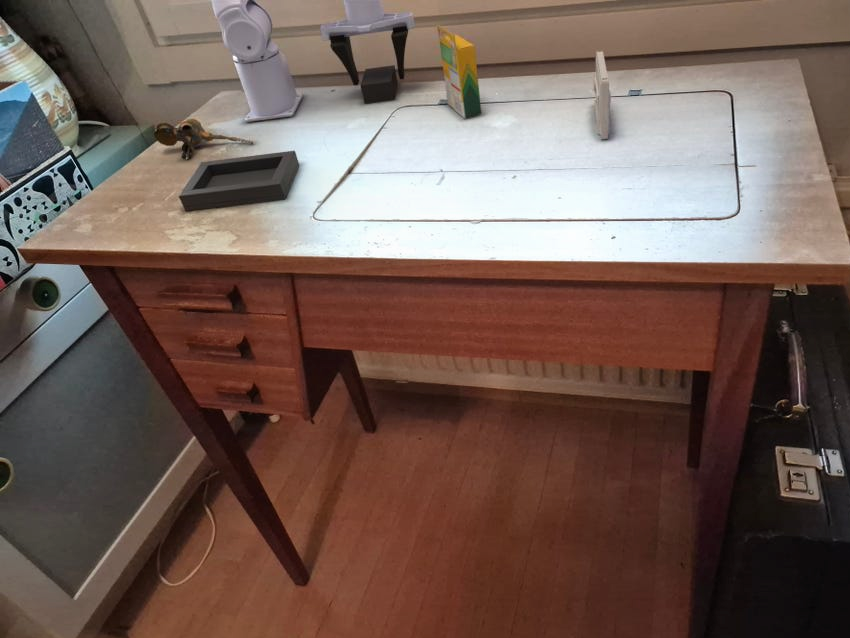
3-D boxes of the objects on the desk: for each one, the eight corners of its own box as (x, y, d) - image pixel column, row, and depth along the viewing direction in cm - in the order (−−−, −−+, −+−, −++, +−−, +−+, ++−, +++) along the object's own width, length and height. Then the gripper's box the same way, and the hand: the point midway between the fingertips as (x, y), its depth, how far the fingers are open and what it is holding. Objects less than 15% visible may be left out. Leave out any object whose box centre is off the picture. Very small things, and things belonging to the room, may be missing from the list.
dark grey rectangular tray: (207, 176, 93) (201, 161, 91) (299, 165, 92) (294, 150, 90) (185, 211, 85) (178, 195, 84) (285, 199, 84) (279, 183, 83)
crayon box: (483, 114, 98) (473, 30, 90) (464, 119, 97) (453, 35, 90) (465, 100, 103) (454, 19, 96) (447, 104, 102) (435, 24, 95)
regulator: (261, 138, 103) (168, 129, 103) (255, 118, 99) (157, 109, 100) (249, 173, 99) (151, 164, 100) (241, 154, 96) (140, 144, 96)
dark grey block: (369, 86, 113) (365, 68, 111) (398, 83, 113) (394, 65, 111) (364, 103, 107) (360, 85, 105) (394, 100, 107) (390, 81, 105)
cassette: (611, 139, 86) (612, 79, 81) (597, 140, 86) (597, 81, 81) (605, 105, 95) (606, 49, 90) (592, 106, 95) (592, 50, 90)
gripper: (308, 1, 97) (332, 94, 106) (404, -12, 96) (421, 82, 105) (316, -10, 102) (338, 79, 111) (407, -23, 102) (423, 68, 110)
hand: (379, 80), depth 109 cm, fingers open, 7 cm apart
